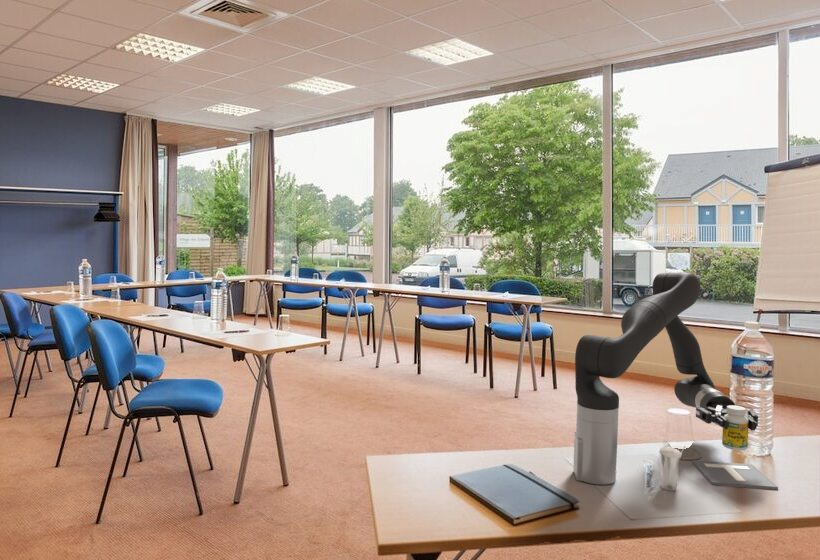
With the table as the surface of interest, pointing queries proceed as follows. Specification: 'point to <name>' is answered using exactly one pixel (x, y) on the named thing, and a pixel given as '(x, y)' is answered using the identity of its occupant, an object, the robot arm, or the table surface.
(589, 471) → the robot arm
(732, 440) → the supplement bottle
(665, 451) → the milkshake
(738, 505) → the table surface
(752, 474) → the letter board
